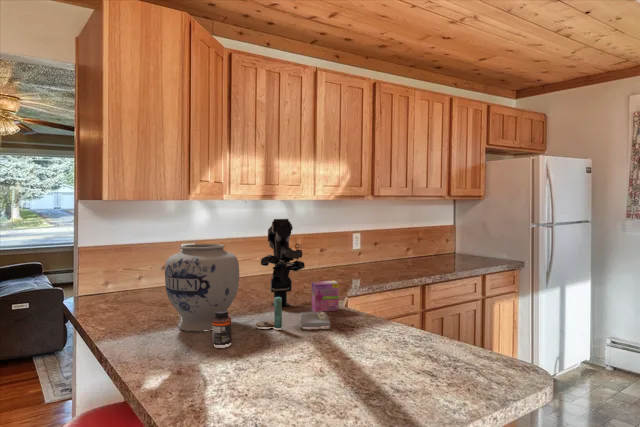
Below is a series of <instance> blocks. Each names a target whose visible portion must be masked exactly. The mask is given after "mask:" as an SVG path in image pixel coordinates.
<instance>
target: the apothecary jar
mask: <svg viewBox="0 0 640 427" xmlns="http://www.w3.org/2000/svg"><path fill="white" fill-rule="evenodd" d="M224 248H225V244H222V243H220V244H219V243H198V244H197V243H193V244H191V243H190V244H183V245H180V249H181V251H180V252H176V253H174V254H172V255H171V256H169V257H168V258H167V260H166V262H165V266H164V283H165V284H164V285H165V291H166V295H167V298H168V300H169V302H170V304H171V305H172V306H173V308H174V310H176V311H177V313H178V314H179V315H180V317H181V318H182V319H181V321H180V322H179V323H178V324H177V327H178V329H179V330H181V329H182V330H181V331H183V330H186V331H185V332H188V331H204V330H211V329H213V328H212V321H213V319H214V318H215V312H216V311H217V310H228V309H229V307H231V305H232V304H233V302H234V300H235V299H236V296H237V294H238V290H239V284H240V283H239V282H240V264H239V260H238V257H237V256H236V255H235V254H234V253H232V252H229V251H226V250H225V249H224Z"/></svg>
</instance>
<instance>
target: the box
mask: <svg viewBox="0 0 640 427" xmlns="http://www.w3.org/2000/svg"><path fill="white" fill-rule="evenodd" d="M339 297H340V296H339V282H338V281H336V280H322V281H311V310H312V311H313V312H314V311H315V312H323V311H325V312H333V311H339V309H340V308H339V307H340V306H339V300H340V299H339Z"/></svg>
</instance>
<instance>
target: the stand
mask: <svg viewBox="0 0 640 427" xmlns="http://www.w3.org/2000/svg"><path fill="white" fill-rule="evenodd" d="M299 314H300V315H299V316H300V318H301V320H300V324H301V323H302V325H301V328H302V327H321V326H330V327H331V321H330V318H329V316H328V313H327V311H325V312H314V311H313V312H300V313H299Z"/></svg>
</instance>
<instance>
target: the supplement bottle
mask: <svg viewBox="0 0 640 427" xmlns="http://www.w3.org/2000/svg"><path fill="white" fill-rule="evenodd" d="M212 328H213V331H212V345H213V344H215V345H225V344H229V343H231V342H232V343H233V335H232V334H233V333H232V330H233V328H232V318H231V317H230V316H229V310H228V309H227V310H217V311H216V312H215V318H214V319H213V321H212Z"/></svg>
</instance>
